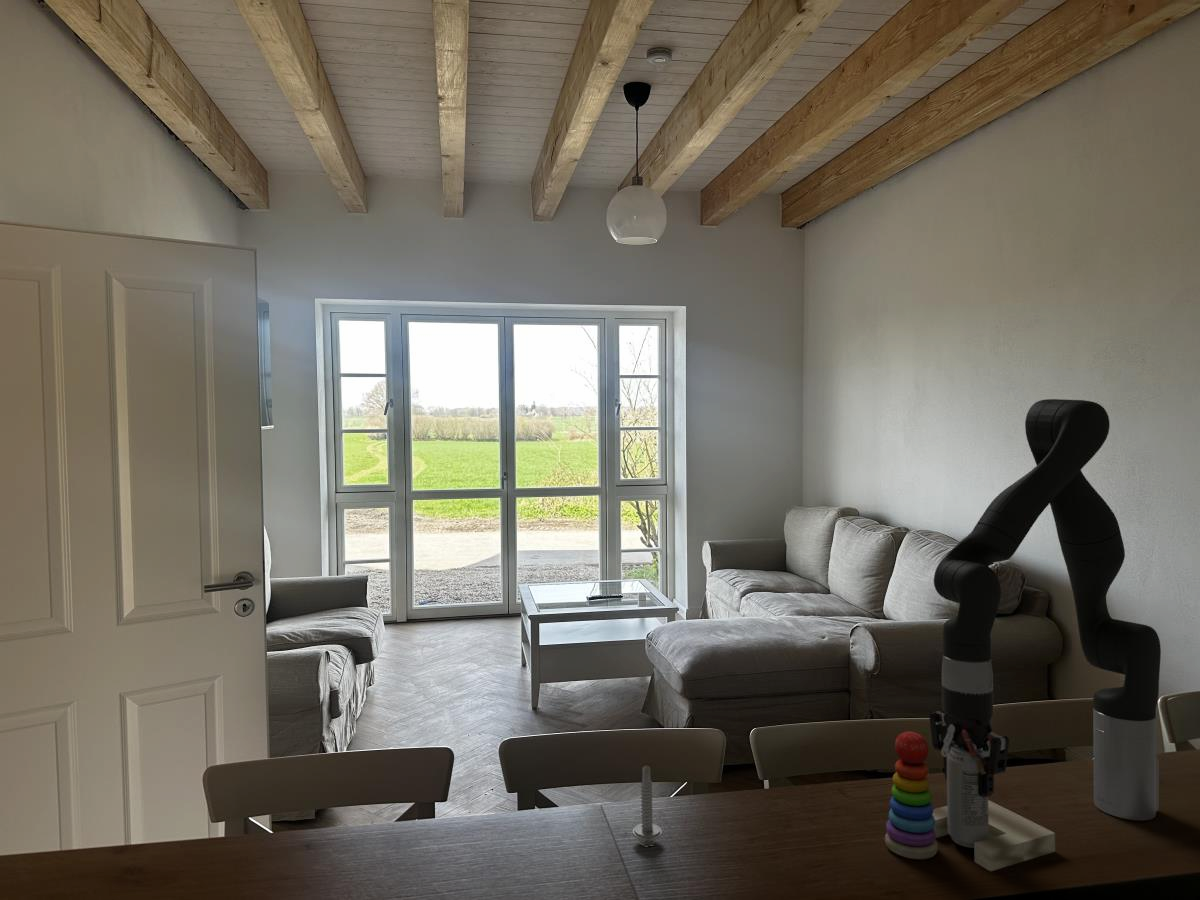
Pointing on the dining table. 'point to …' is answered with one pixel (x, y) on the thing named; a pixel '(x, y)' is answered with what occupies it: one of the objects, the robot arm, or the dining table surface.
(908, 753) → the stacking toy
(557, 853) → the dining table surface
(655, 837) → the screw
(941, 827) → the notched board
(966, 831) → the energy drink can
